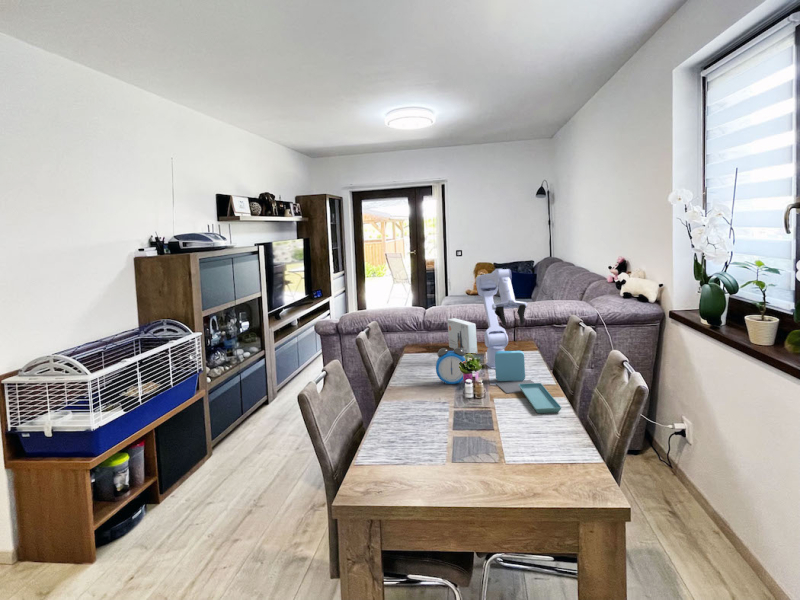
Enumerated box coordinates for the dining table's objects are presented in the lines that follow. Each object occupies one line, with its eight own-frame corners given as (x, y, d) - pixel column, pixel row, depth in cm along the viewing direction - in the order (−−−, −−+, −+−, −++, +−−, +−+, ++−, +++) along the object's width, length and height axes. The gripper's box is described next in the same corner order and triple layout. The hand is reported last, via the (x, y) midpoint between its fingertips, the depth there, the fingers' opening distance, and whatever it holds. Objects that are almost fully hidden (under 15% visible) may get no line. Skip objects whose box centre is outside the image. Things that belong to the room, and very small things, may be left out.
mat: (495, 384, 215) (495, 383, 215) (530, 380, 217) (530, 379, 217) (506, 393, 202) (506, 392, 202) (543, 390, 204) (543, 389, 204)
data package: (524, 378, 219) (523, 350, 219) (525, 381, 215) (524, 352, 214) (496, 378, 222) (494, 351, 221) (495, 381, 217) (494, 353, 217)
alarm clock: (436, 385, 218) (435, 350, 216) (436, 380, 224) (435, 346, 222) (468, 384, 216) (466, 349, 214) (467, 380, 222) (466, 345, 220)
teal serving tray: (562, 413, 178) (562, 406, 178) (535, 414, 178) (535, 407, 178) (541, 388, 204) (541, 382, 204) (518, 390, 204) (517, 383, 204)
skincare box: (448, 347, 284) (446, 318, 282) (456, 346, 287) (455, 317, 284) (468, 355, 265) (467, 324, 263) (477, 353, 268) (476, 323, 265)
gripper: (492, 290, 214) (499, 320, 208) (526, 289, 216) (533, 318, 210) (488, 298, 221) (494, 327, 214) (521, 297, 223) (528, 325, 216)
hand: (513, 323), depth 213 cm, fingers open, 7 cm apart
